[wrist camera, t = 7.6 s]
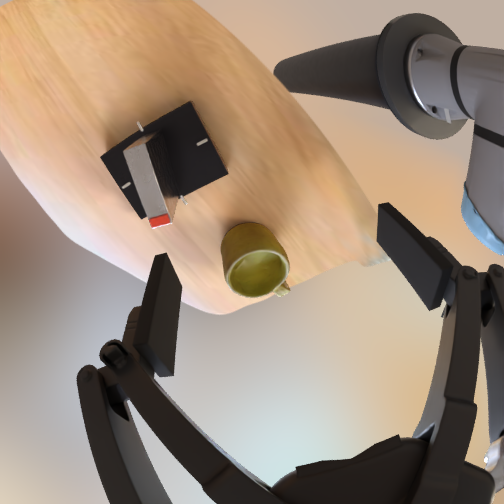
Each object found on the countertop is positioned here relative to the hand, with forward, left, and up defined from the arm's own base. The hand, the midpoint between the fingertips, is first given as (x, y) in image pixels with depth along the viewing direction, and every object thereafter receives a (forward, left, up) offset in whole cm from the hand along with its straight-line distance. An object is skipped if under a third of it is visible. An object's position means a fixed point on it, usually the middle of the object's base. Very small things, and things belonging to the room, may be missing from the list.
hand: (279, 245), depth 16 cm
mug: (+5, +16, -24) cm, 30 cm away
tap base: (+10, -4, -24) cm, 26 cm away
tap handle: (+10, -4, -22) cm, 24 cm away
